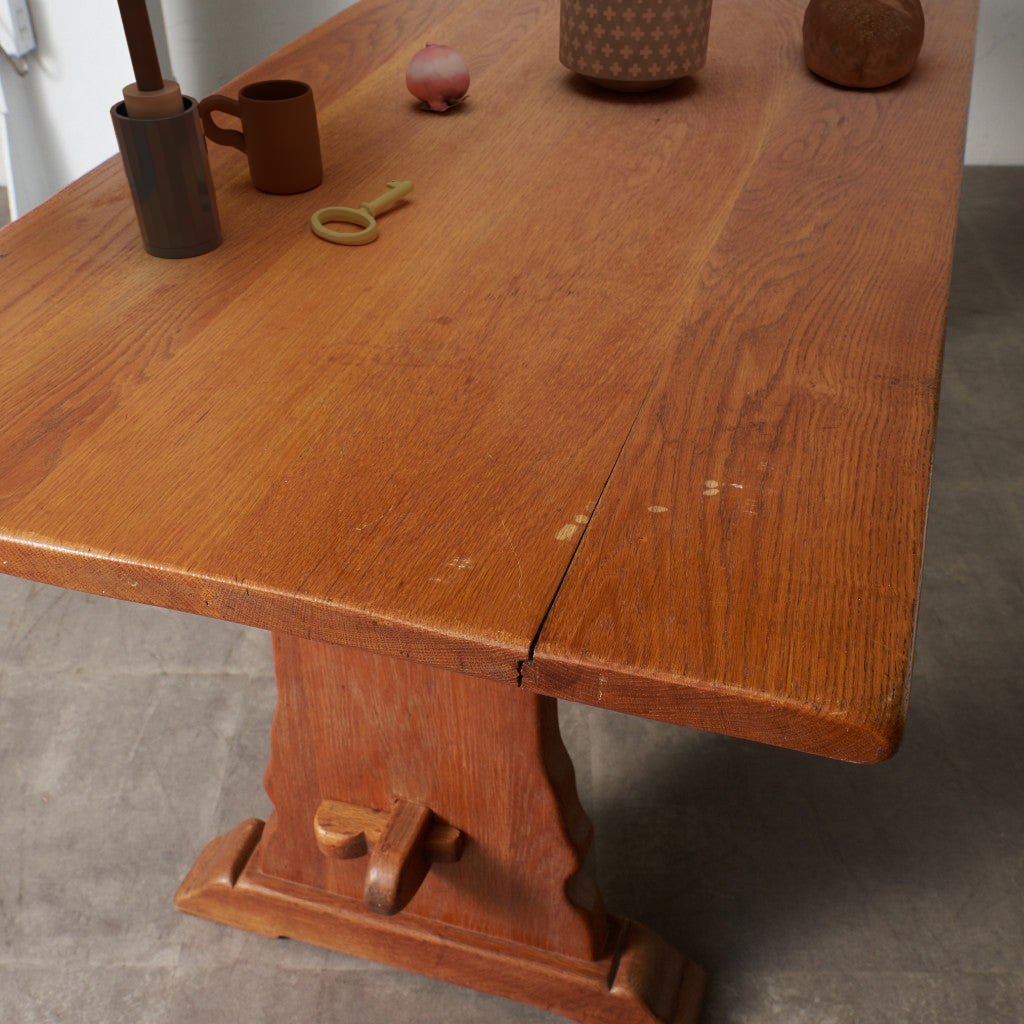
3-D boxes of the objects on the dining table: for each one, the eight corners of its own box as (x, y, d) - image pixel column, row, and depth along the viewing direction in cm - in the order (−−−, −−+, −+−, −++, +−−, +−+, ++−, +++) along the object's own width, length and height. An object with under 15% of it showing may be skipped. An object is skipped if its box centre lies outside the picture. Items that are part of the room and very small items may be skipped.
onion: (473, 97, 129) (471, 36, 124) (469, 117, 123) (467, 54, 118) (410, 96, 129) (407, 36, 124) (404, 116, 123) (399, 54, 118)
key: (417, 199, 103) (416, 178, 102) (366, 249, 94) (364, 227, 93) (354, 190, 105) (352, 170, 104) (298, 239, 96) (295, 218, 95)
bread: (796, 89, 131) (812, -7, 124) (798, 30, 153) (812, -55, 146) (921, 97, 128) (946, 0, 121) (906, 36, 150) (925, -50, 143)
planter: (730, 95, 129) (751, -66, 117) (595, 113, 124) (604, -53, 112) (659, 56, 143) (672, -92, 131) (536, 71, 137) (538, -82, 126)
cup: (130, 255, 93) (94, 118, 85) (163, 223, 99) (132, 91, 91) (206, 261, 92) (177, 122, 84) (235, 227, 98) (210, 94, 90)
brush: (126, 154, 89) (68, -81, 77) (149, 134, 92) (97, -92, 81) (178, 156, 88) (127, -79, 76) (199, 137, 92) (153, -91, 80)
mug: (205, 200, 103) (186, 105, 97) (213, 172, 109) (195, 81, 103) (323, 194, 104) (312, 100, 98) (325, 167, 110) (314, 77, 104)
